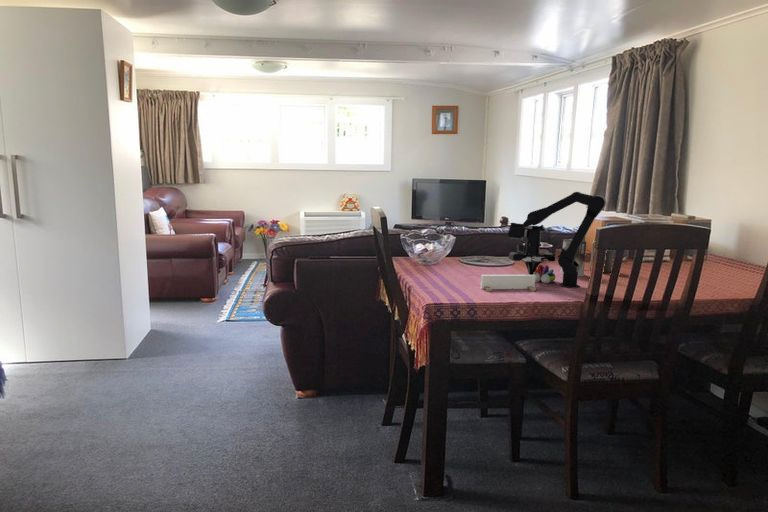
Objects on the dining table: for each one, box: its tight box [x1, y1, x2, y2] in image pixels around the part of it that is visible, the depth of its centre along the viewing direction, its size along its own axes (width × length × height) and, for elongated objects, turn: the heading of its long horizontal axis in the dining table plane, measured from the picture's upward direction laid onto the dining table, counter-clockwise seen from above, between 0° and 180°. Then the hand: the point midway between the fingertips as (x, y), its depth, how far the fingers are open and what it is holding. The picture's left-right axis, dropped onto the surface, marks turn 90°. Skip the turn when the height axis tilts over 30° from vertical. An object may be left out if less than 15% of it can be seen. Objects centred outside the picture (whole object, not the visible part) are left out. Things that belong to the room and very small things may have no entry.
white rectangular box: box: [480, 274, 537, 292], centre depth 211 cm, size 6×22×6 cm, turn 97°
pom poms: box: [533, 264, 557, 284], centre depth 227 cm, size 8×10×7 cm
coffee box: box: [560, 238, 587, 277], centre depth 242 cm, size 9×6×16 cm
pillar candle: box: [589, 241, 614, 274], centre depth 252 cm, size 10×10×15 cm
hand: (530, 276), depth 227 cm, fingers closed
